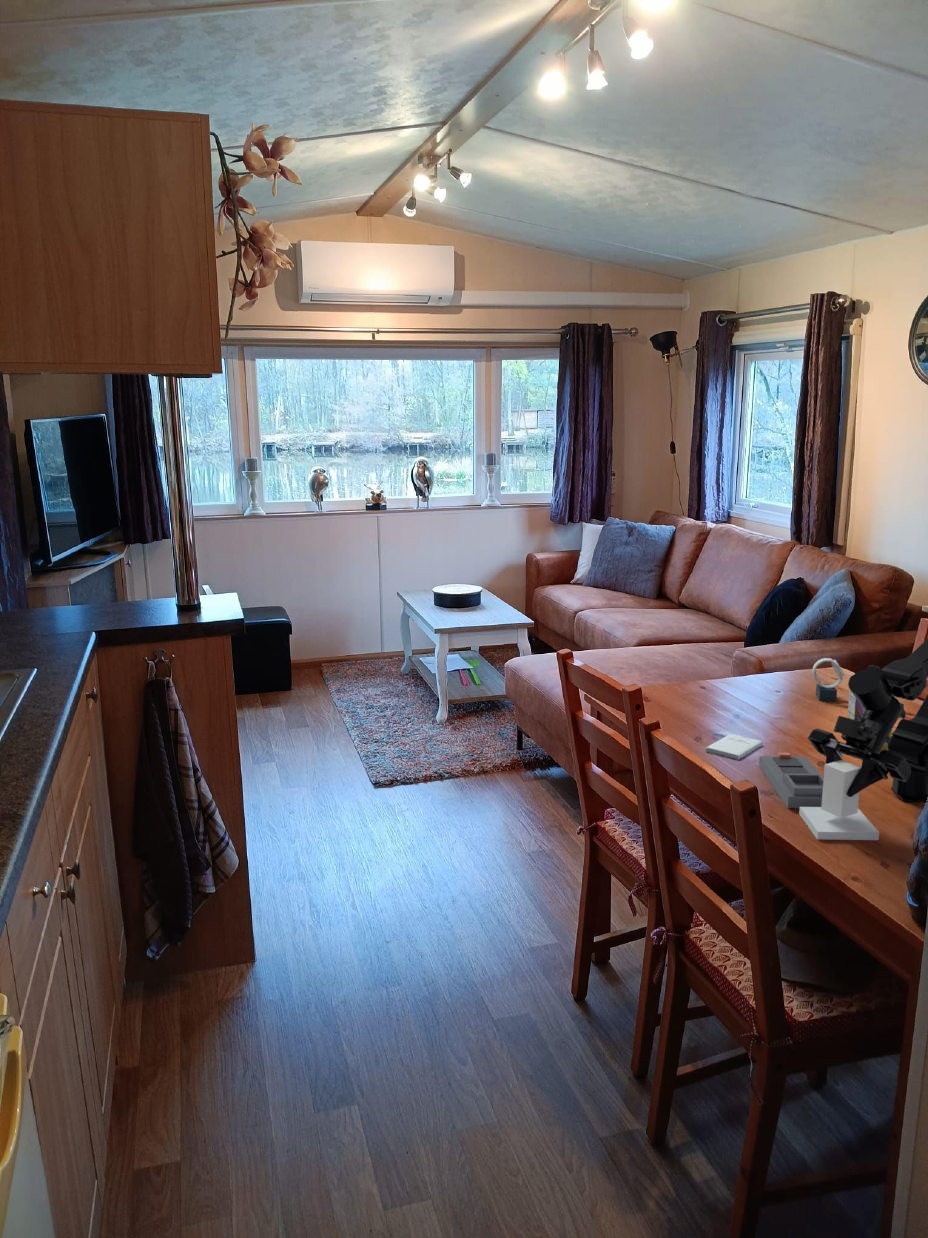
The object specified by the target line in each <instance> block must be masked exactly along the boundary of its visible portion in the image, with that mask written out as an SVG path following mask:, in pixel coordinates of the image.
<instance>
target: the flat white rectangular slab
mask: <svg viewBox="0 0 928 1238" xmlns="http://www.w3.org/2000/svg"><path fill="white" fill-rule="evenodd" d="M798 812H799V815H800V818H801V819H802V820H803V822H804V823H805V824H806V826H807V825H808V826H807V828H808V829H809V830H810V831H811V833H812V834H813V836H814V837H815V839H816V840H835V841H836V840H838V841H839V840H841V841H845V840H846V841H848V840H849V841H879V840H880V832H879V831H878V829H877V827H875V826H874V825H873V823H872V822H871V821H870V820H869V818H867V817H866V815H864V813H863V812H862V811H861V810H860V808H858V813H856V814H852V815H849V816H846V817H843V818H839V817H837V816H835V815H833V814H831V813H829V812H826V811H824V810H822V809H821V807H800V809H799V811H798Z"/></svg>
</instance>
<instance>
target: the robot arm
mask: <svg viewBox="0 0 928 1238" xmlns="http://www.w3.org/2000/svg"><path fill="white" fill-rule="evenodd" d="M927 678H928V638H927V639H926V640H924V641H923V642H922V643H921V644H920V645H919V646H918V647H917V648H916V649H915V650H914V651H912V652H911V654H909V656H907V657H905V658H901V659H896V660H893V661H892V662H890V663H888V664H887V665H885V666H884V667H883V668H882V669H881V667H880V666H876V665H872V664H869V665H868V667H866V669H861V670H859V671H856V672H855V673H854V674H853V675H851V676H850V678H849V680H848V684H847V685H848V688H849V689H850V690H851V692H852V693H853V695H854V696H855V698H856V699H857V701H858V702H859V704H860V705H861V706H862V707H863V708H864V709H866V710H865V711H864V713H863V715H862V716H861V717H856V718H854V720H853V719H850V718H848V717H846V716H842V715H838V717H837V719H836V722H835V725H834V729H833V732H834V733H839V734H841V736H840V737H841V739H842V740H843V741H845V742H842V741H839V740H838V738H836V736H835V735H834V733H832V732H830V731H827V730H824V729H820V728H814V729H812V731H811V732H810V733H809V735H808V736H807V739H808V741H809V742H810V743H811V745H812V746H813V748H814V749H815V750H816V752H817V753H819V754H820V755H824V756H825V764H828V763H832V762H836V761H839V760H843V756H844V755H846V756H850V757H852V758H856V759H859V760H861V761H862V762H861V769H860V771H859V773H858V774H857V776H856V778H855V779H854V781H853V782H852V784H851V786H850V788H849V790H848V792H847V795H848V797H852V796H853V795H855V794H857V793H858V792H859V793H860V792H862V791H863V790H864V789H866V788H867V787H869V786H871V785H873V784H875V783H878V782H879V781H881V780H885V781H887V780H888V779H889V776H888V774H889V775H890V777H891V778H892V785H891V786H890V789H891V791H892V792H893V793H894V794H895V795H896V796H897V797H898V798H900V800H901V801H903V802H927V801H926V800H927V797H928V693H927V695H926V696H925V698H924V700H923V702H922V704H921V705H920V707H919V709H918V710H917V711H916V713H915V715H914V716H913V717H912V718H911V719H906V716H907V715H906V711H905V704H904V703H902V702H900V701H899V699H901V700H906V701H911V702H913V701H915V700H917V699H918V698H919V696H921V694H922V693H923V691H924V690H925V689H926V688H927V686H928V685H927ZM893 696H894V697H893ZM898 698H899V699H898ZM899 718H900V720H899ZM898 720H899V721H898ZM896 723H897V726H896V728H895V729H894V731H893V728H894V727H895V725H896ZM891 730H892V736H891V737H889V736H888V735H889V733H890V732H891ZM884 742H885V743H888V750H882V751H881V752H880V753H879V754H878V752H879V751H880V749H881V747H882V745H883V744H884Z"/></svg>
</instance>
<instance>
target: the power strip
mask: <svg viewBox="0 0 928 1238" xmlns="http://www.w3.org/2000/svg"><path fill="white" fill-rule="evenodd" d="M776 755H777V756H776ZM776 755H775V756H773V755H771V756H770V755H769V756H766V755H760V756H759V759H758V768H759V770H760V771H761V772H762V773H763V775H764V776H765V778H766V779H767V781H768V782H769V783H770V785H771V787H772V788H773V789H774V791H775V793H776V794H777V796H778V797H779V798H780V799H781V801H782V803H783V804H784V805H785V807H786V808H787V809H788V808H789V809H790V808H795V809H796V808H797V809H799V810H800V807H821V805H822V793H823V780H824V775H823V774H821V773H820V771H819V770H818V769H817V768H816V766H814V764H813V763H812V762H811V761H810V760H809V758H807V756H792V755H791V753H790V752H779V751H778V752H777V754H776ZM790 810H791V809H790Z"/></svg>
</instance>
